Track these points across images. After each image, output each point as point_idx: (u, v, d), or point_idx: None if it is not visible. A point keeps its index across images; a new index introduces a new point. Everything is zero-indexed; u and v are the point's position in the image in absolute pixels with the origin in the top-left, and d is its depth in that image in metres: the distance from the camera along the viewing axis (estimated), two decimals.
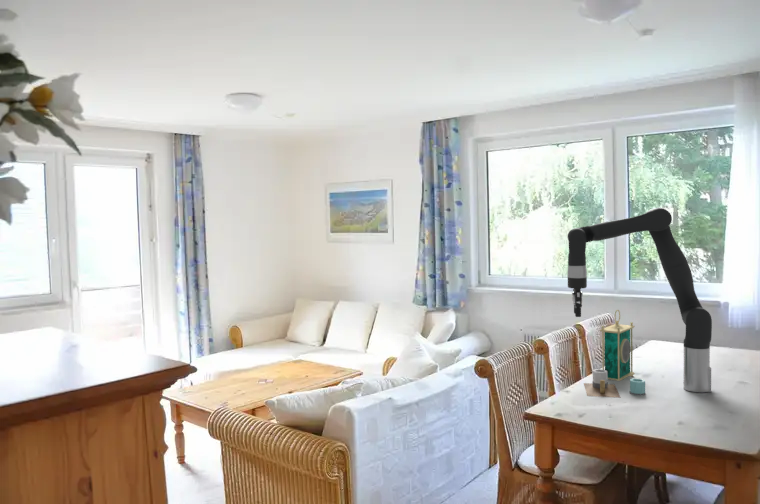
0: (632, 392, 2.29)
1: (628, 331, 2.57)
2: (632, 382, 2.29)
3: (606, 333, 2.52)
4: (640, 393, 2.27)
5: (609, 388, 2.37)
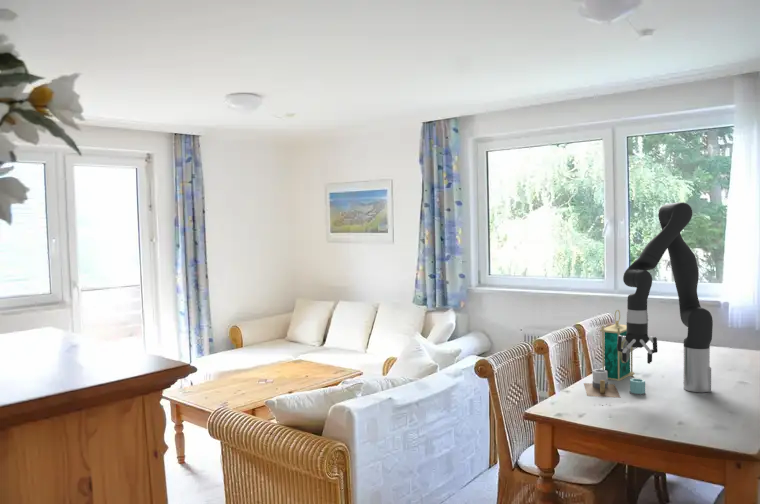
0: (632, 392, 2.29)
1: None
2: (632, 382, 2.29)
3: (606, 333, 2.52)
4: (640, 393, 2.27)
5: (609, 388, 2.37)
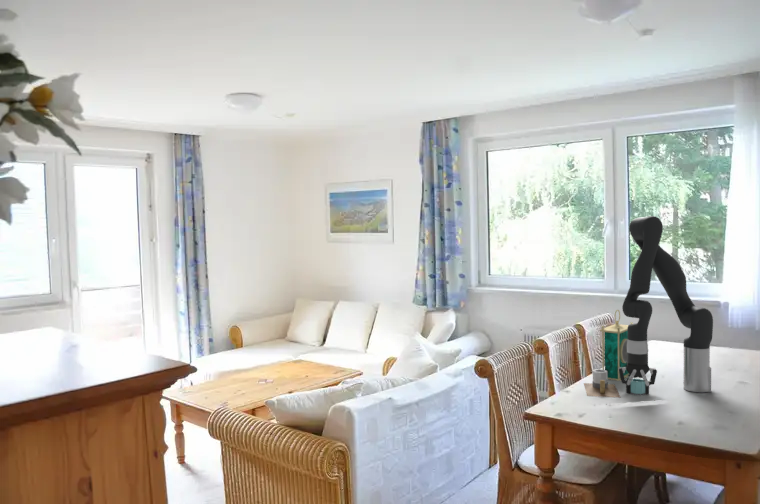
0: (632, 392, 2.29)
1: None
2: (632, 382, 2.29)
3: (606, 333, 2.52)
4: (640, 393, 2.27)
5: (609, 388, 2.37)
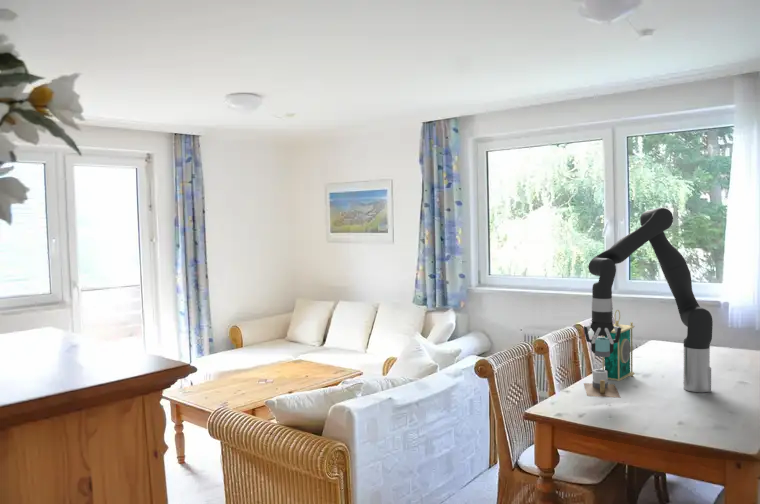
0: (597, 350, 2.29)
1: (628, 331, 2.57)
2: (597, 340, 2.29)
3: None
4: (604, 351, 2.28)
5: (609, 388, 2.37)
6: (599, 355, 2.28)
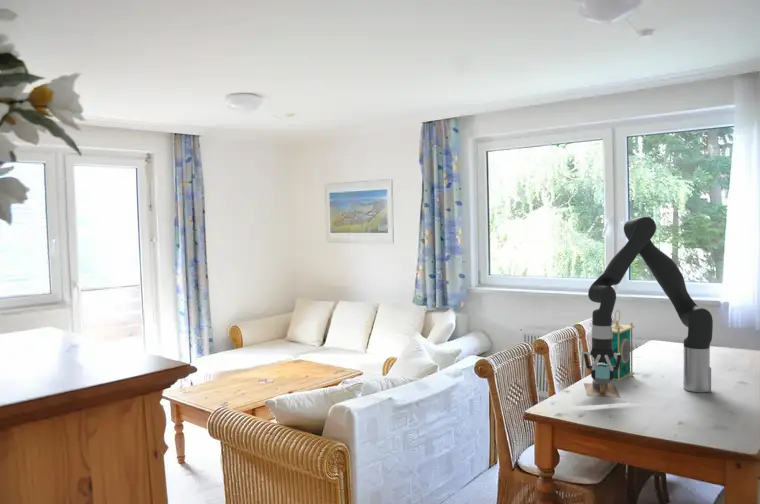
0: (596, 377, 2.30)
1: (628, 331, 2.57)
2: (597, 367, 2.30)
3: None
4: (604, 378, 2.28)
5: (609, 388, 2.37)
6: (599, 382, 2.29)
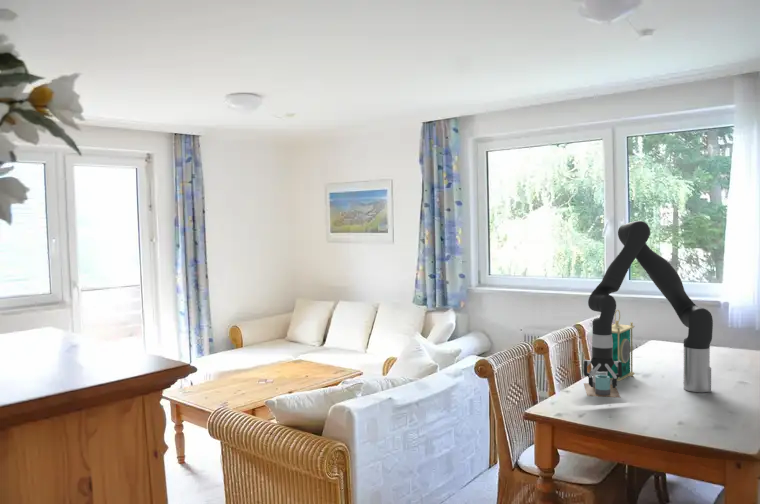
0: (597, 388, 2.30)
1: (628, 331, 2.57)
2: (597, 378, 2.30)
3: None
4: (605, 389, 2.28)
5: None
6: (599, 393, 2.29)
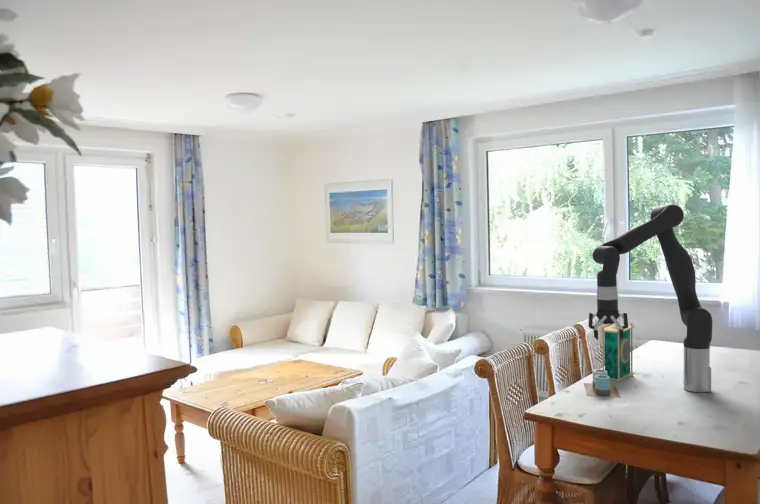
0: (597, 388, 2.30)
1: (628, 331, 2.57)
2: (597, 378, 2.30)
3: (606, 333, 2.52)
4: (605, 389, 2.28)
5: None
6: (599, 393, 2.29)
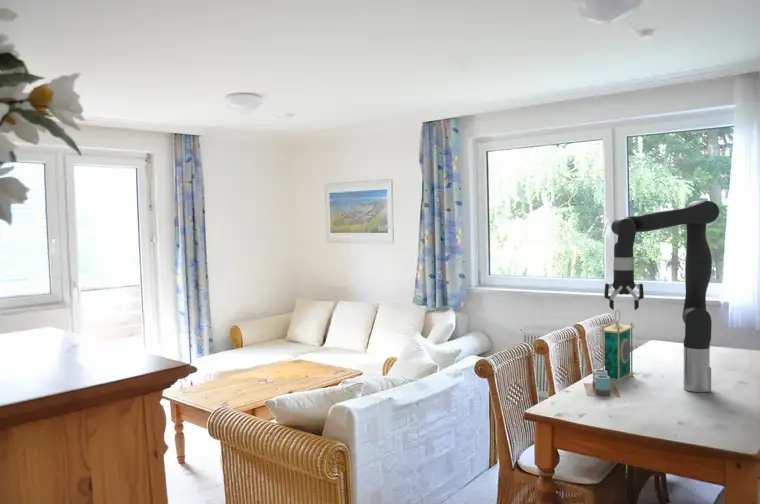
0: (597, 388, 2.30)
1: (628, 331, 2.57)
2: (597, 378, 2.30)
3: (606, 333, 2.52)
4: (605, 389, 2.28)
5: None
6: (599, 393, 2.29)
